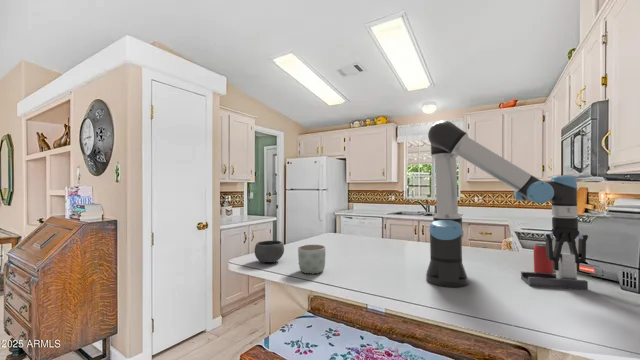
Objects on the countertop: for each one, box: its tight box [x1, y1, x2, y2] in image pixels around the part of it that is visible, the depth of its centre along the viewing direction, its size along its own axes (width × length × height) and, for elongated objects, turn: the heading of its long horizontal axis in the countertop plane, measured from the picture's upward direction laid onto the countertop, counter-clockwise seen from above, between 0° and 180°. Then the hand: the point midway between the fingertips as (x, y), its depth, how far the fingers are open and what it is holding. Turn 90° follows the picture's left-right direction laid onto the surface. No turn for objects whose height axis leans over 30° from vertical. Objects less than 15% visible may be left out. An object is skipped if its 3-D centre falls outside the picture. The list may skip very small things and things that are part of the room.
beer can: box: [533, 243, 554, 273], centre depth 127 cm, size 7×7×12 cm
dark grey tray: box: [520, 271, 589, 291], centre depth 113 cm, size 18×8×3 cm, turn 75°
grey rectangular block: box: [559, 251, 576, 280], centre depth 112 cm, size 4×4×10 cm
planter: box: [297, 244, 327, 275], centre depth 134 cm, size 12×12×11 cm
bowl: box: [254, 240, 285, 263], centre depth 152 cm, size 15×15×10 cm
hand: (566, 279), depth 112 cm, fingers closed on grey rectangular block, 4 cm apart
